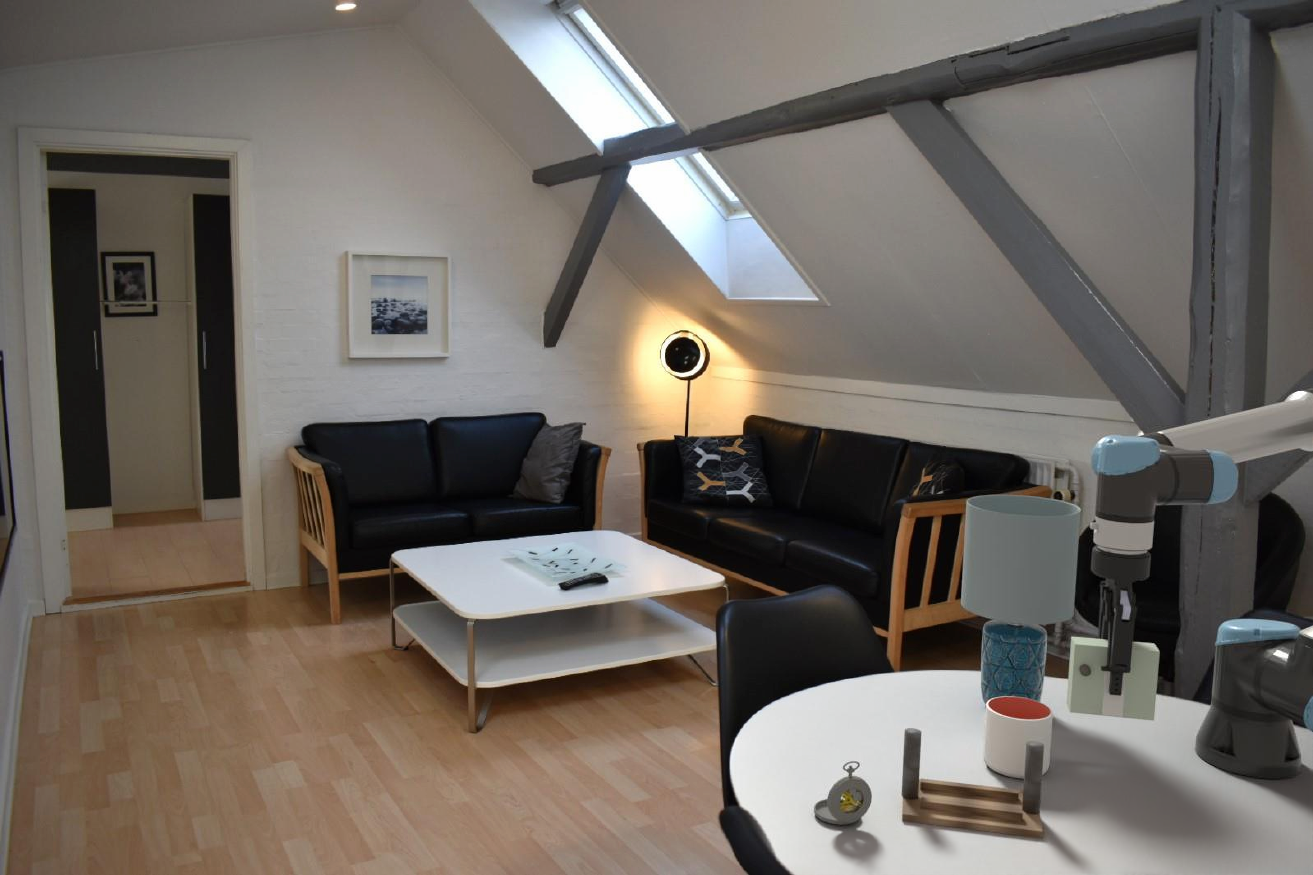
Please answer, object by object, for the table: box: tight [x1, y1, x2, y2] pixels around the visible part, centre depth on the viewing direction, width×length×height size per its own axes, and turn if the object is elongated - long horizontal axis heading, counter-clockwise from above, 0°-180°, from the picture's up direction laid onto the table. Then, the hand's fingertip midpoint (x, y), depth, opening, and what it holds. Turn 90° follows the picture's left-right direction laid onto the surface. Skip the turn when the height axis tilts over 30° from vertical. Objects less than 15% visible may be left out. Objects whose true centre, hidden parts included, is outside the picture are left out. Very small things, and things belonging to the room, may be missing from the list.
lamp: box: [960, 494, 1082, 705], centre depth 192 cm, size 19×19×38 cm
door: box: [1066, 636, 1161, 722], centre depth 150 cm, size 11×4×10 cm, turn 77°
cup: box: [982, 696, 1054, 780], centre depth 169 cm, size 10×10×10 cm
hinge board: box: [901, 727, 1044, 839], centre depth 155 cm, size 19×12×11 cm, turn 76°
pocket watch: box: [813, 760, 873, 826], centre depth 151 cm, size 8×8×10 cm
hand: (1109, 708), depth 151 cm, fingers closed on door, 3 cm apart
